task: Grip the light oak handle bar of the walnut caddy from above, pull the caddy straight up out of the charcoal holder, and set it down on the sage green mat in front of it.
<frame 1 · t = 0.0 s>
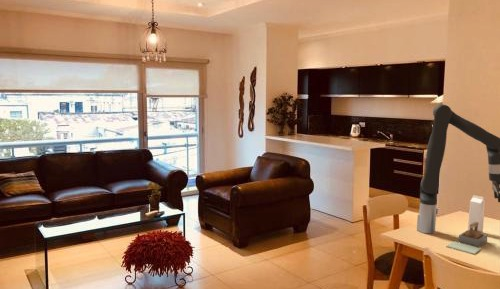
hand: (498, 200, 230), 22 cm above the table, tool pointing down, fingers open, 8 cm apart
holder: (472, 242, 228), on the table
caddy: (473, 232, 227), in the holder
milk: (475, 232, 243), on the table
mat: (463, 248, 219), on the table
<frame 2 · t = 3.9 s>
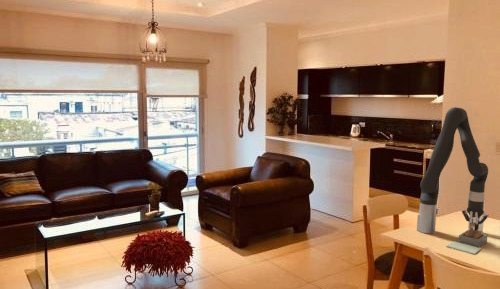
hand: (473, 229, 227), 7 cm above the table, tool pointing down, fingers closed on caddy
caddy: (473, 232, 227), in the holder, touching gripper
everything else where it was.
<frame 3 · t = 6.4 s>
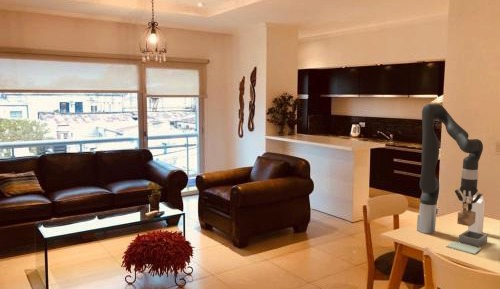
hand: (467, 209, 216), 21 cm above the table, tool pointing down, fingers closed on caddy
caddy: (466, 213, 217), point 19 cm above the table, touching gripper
everything else where it was.
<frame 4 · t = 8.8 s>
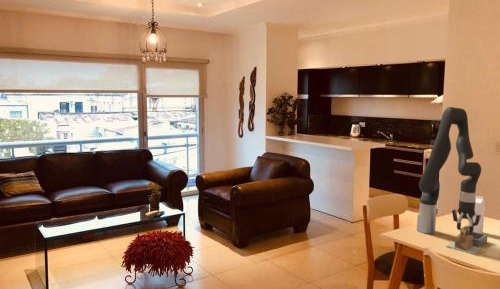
hand: (464, 230, 218), 10 cm above the table, tool pointing down, fingers open, 5 cm apart
caddy: (464, 237, 218), on the mat, point 6 cm above the table
everything else where it was.
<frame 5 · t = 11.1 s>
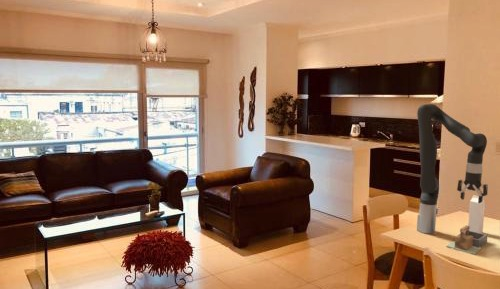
hand: (471, 201, 219), 25 cm above the table, tool pointing down, fingers open, 8 cm apart
nothing on the table moved.
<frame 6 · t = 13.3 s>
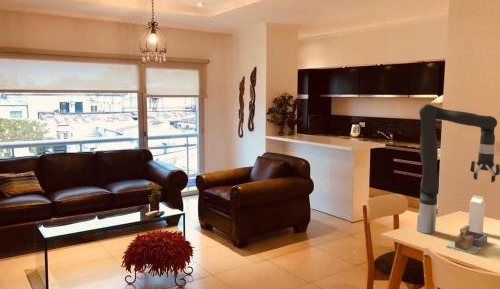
hand: (484, 180, 230), 33 cm above the table, tool pointing down, fingers open, 8 cm apart
nothing on the table moved.
at the end: caddy inside the target area on the mat (0.1 cm from its centre), point 6.0 cm above the mat's base; caddy tilted 0°; the gripper is holding nothing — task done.
